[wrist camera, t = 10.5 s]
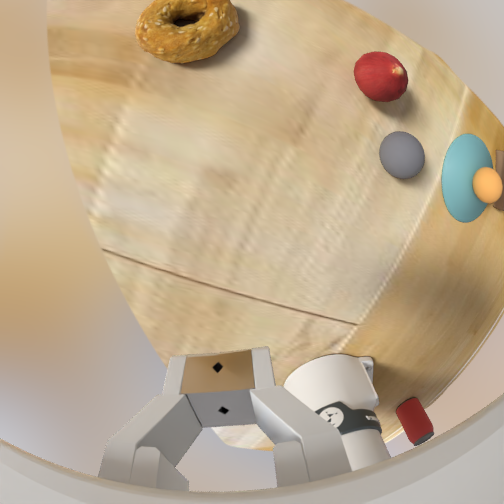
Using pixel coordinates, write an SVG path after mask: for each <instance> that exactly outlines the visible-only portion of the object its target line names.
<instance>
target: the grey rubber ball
mask: <svg viewBox="0 0 504 504" xmlns="http://www.w3.org/2000/svg"><path fill="white" fill-rule="evenodd" d="M379 155H380V160H381V163H382V165H383V167H384V168H385V170H386V171H387V172H388V173H389V174H391V175H392V176H394V177H397V178H400V179H408V178H412V177H414V176H416V175H417V174H418V173H419V172H420V171H421V169H422V168H423V165H424V160H425V155H424V150H423V147H422V145H421V143H420V142H419V141H418V140H417V139H416V138H415V137H414V136H413V135H411V134H409V133H406V132H400V131H399V132H393V133H391V134H389V135H388V136H386V137H385V138H384V140H383V141H382V143H381V146H380V151H379Z"/></svg>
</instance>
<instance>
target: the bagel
mask: <svg viewBox="0 0 504 504" xmlns="http://www.w3.org/2000/svg"><path fill="white" fill-rule="evenodd" d="M178 19H183V20H194V21H198V22H196V23H195V24H189V25H186V26H184V27H178V26H176V25H174V24H173V23H174V22H175V21H176V20H178ZM238 20H239V18H238V14H237V12H236V9H235V7H234V6H233V5H232V3H231V2H230V0H155V1H154V2H153V3H151V4H150V5H149V6H148V7H147V8H146V9H145V10H144V11H143V12H142V14H141V15H140V17H139V19H138V20H137V23H136V29H135V36H136V39H137V42H138V44H139V46H140V47H141V48H142V49H143V50H144V51H146V52H149V53H151V54H152V55H153V56H154V57H156V58H159V59H161V60H163V61H167V62H171V63H186V62H191V61H194V60H200V59H205V58H208V57H211V56H213V55H214V54H216V52H217V51H218V50H219V49H220V48H221V47H222V46H223V45H224V44H226V43H227V42H228V41H229V40H230V39H231V38H232V37H234V36H235V35H236V34H237V33H238V31H239V23H238Z"/></svg>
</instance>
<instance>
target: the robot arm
mask: <svg viewBox="0 0 504 504" xmlns="http://www.w3.org/2000/svg"><path fill="white" fill-rule="evenodd" d="M372 384H373V360H372V358H371V357H359V358H357V357H352V356H349V355H343V354H335V355H328V356H323V357H320V358H317V359H314V360H312V361H309V362H307V363H305V364H304V365H302V366H300V367H299V368H297V369H296V370H295V371H294V372H293V373H292V374H291V375H290V376H289V377H288V378H287V380H286V381H285V384H284V387H282V386H281V385H280V386H276V384H275V378H274V373H273V367H272V362H271V356H270V351H269V347H268V346H265V347H258V348H252V350H251V349H245V350H237V351H229V352H220V353H207V354H188V355H173V356H172V357H171V358H170V361H169V366H168V370H167V375H166V379H165V383H164V388H163V393H162V395H157V396H156V397H155V398H153V400H151V401H150V402H149V403H148V404H147V405H146V406H145V407H144V408H143V409H142V410H141V411H140V412H139V413H137V414H136V415H135V416H134V417H133V418H132V419H131V420H130V421H129V422H128V423H126V424H125V425H124V426H123V427H122V428H121V429H120V430H119V431H118V432H117V433H115V434H114V435H113V436H112V437H111V438H110V439H109V440H108V441H107V445H106V448H105V452H104V455H103V459H102V463H101V467H100V471H99V475H98V477H96V476H92V475H88V474H85V473H81V472H78V471H75V470H72V469H69V468H66V467H63V466H60V465H57V464H55V463H52V462H50V461H47V460H45V459H42V458H40V457H37V456H35V455H33V454H31V453H28V452H26V451H24V450H22V449H20V448H18V447H16V446H14V445H12V444H10V443H8V442H6V441H4V440H3V439H1V438H0V504H504V393H503V394H502V395H501V396H500V397H498V398H497V399H496V400H494V401H493V402H492V403H490V404H489V405H487V406H486V407H485V408H483V409H482V410H480V411H479V412H478V413H476V414H474V415H473V416H471V417H470V418H468V419H467V420H465V421H464V422H462V423H460V424H459V425H457V426H455V427H454V428H452V429H450V430H448V431H447V432H445V433H443V434H441V435H439V436H437V437H435V438H434V439H432V440H430V441H428V442H426V443H424V444H422V445H419V446H417V447H415V448H413V449H411V450H409V451H406V452H404V453H402V454H399V455H397V456H395V457H392V458H391V456H390V454H389V452H388V450H387V448H386V446H385V443H384V441H383V439H382V437H381V433H382V429H381V426H380V422H379V420H378V418H377V417H376V414H375V413H374V408H375V406H378V405H379V400H378V399H379V398H378V395H377V393H376V391H375V389H374V387H373V385H372ZM248 424H257V425H258V426H259V427H260V429H261V430H262V431H263V432H264V433H265V434H266V435H267V436H268V437H269V438H270V440H271V441H272V442H273V443H274V444H275V446H274V448H273V454H274V461H275V470H276V479H277V488H270V489H260V490H248V491H230V492H199V491H197V492H196V491H189V481H188V480H187V479H186V478H185V477H184V476H183V475H182V474H181V473H180V472H179V471H178V470H177V469H176V468H175V467H176V465H177V464H178V463H179V461H180V460H181V459H182V457H183V456H184V454H185V453H186V452H187V450H188V449H189V448H190V446H191V445H192V443H193V442H194V441H195V439H196V438H197V436H198V435H199V434H200V432H201V431H202V428H203V427H220V426H233V425H248Z"/></svg>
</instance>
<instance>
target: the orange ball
mask: <svg viewBox="0 0 504 504" xmlns="http://www.w3.org/2000/svg"><path fill="white" fill-rule="evenodd" d="M472 185H473V190H474V192H475V194H476V196H477V197H478V198H479V199H480V200H481V201H482V202H485V203H494V202H496V201H497V200H498V199H499V198H500V196H501V194H502V189H503V186H502V180H501V178H500V176H499V174H498V173H497V172H496V171H495V170H494V169H492V168H489V167H482V168H480V169H478V170H477V171H476V173H475V174H474V176H473V181H472Z"/></svg>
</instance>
